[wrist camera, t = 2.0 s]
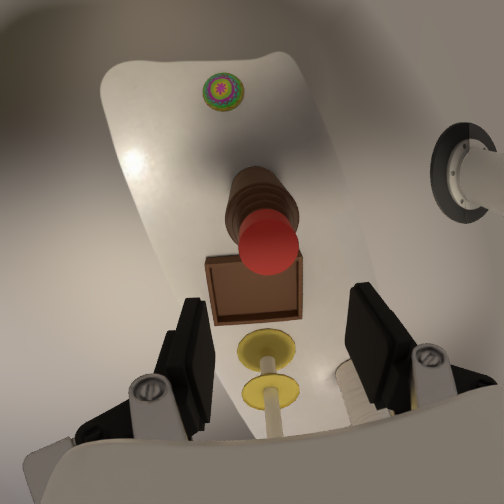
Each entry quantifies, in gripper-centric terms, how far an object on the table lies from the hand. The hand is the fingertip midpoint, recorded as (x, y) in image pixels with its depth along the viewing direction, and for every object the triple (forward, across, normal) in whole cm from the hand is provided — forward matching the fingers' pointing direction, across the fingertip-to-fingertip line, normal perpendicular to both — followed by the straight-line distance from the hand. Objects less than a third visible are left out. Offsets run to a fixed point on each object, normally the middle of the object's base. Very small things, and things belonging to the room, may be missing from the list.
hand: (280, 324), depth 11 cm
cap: (+11, 0, 0) cm, 11 cm away
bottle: (+29, 0, 0) cm, 29 cm away
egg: (+29, +3, -13) cm, 32 cm away
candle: (+29, 0, +27) cm, 40 cm away
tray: (+29, +1, +14) cm, 32 cm away
